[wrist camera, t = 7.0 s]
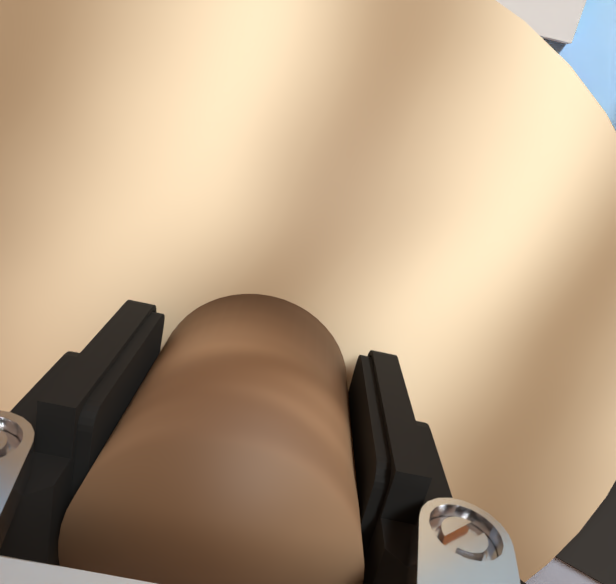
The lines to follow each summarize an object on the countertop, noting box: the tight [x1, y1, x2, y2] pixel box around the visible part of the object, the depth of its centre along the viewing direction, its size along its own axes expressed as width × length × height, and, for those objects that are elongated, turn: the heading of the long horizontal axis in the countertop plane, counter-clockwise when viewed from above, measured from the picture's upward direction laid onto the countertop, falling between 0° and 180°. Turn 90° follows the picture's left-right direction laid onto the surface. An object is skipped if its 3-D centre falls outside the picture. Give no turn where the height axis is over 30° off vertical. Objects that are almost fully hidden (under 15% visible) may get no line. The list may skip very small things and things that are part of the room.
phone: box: [555, 481, 616, 584], centre depth 33 cm, size 7×1×15 cm
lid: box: [0, 0, 616, 584], centre depth 10 cm, size 17×17×6 cm
